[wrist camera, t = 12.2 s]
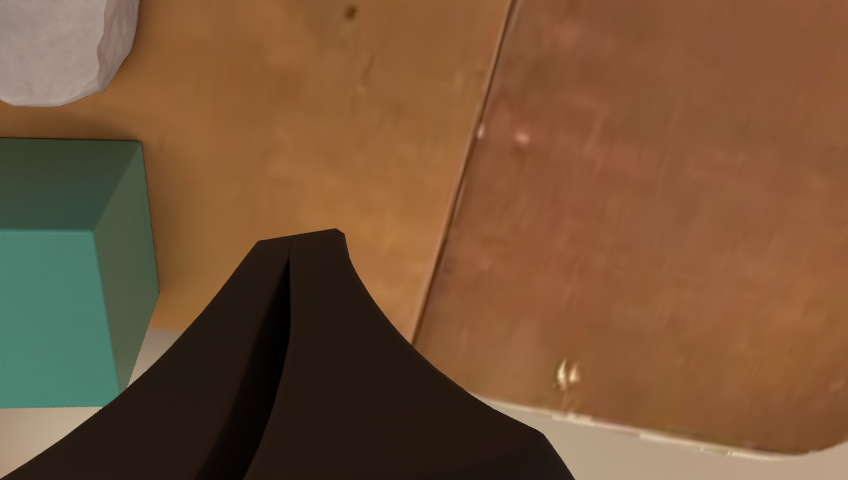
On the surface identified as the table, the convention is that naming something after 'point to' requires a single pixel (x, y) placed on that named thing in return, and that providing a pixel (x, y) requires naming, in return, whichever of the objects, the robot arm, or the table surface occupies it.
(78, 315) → the teal block
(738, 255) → the table surface
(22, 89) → the stone block
